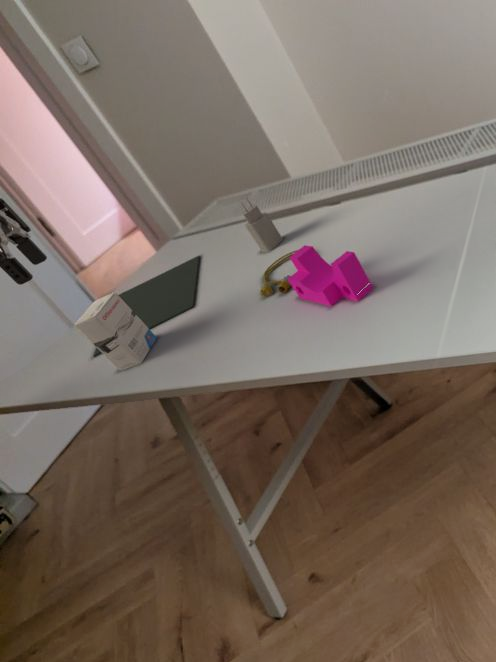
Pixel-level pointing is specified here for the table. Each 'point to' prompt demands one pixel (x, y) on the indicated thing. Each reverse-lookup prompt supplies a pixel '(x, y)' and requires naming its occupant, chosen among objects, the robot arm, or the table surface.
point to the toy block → (328, 277)
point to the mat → (163, 295)
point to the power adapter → (261, 228)
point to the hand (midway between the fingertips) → (34, 271)
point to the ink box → (116, 331)
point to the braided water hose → (284, 282)
